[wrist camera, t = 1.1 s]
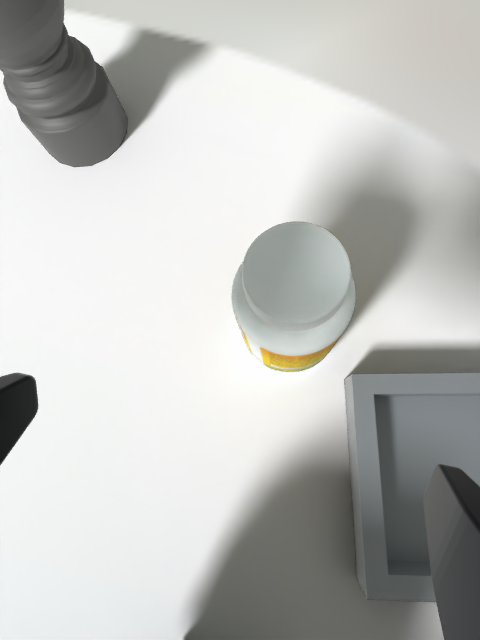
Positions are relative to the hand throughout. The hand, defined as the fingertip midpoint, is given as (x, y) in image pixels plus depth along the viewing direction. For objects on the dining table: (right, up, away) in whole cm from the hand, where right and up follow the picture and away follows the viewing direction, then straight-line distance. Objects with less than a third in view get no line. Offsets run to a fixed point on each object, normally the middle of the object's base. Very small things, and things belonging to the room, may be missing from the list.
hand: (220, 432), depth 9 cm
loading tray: (+11, -6, +12) cm, 18 cm away
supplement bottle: (+3, +2, +15) cm, 16 cm away
